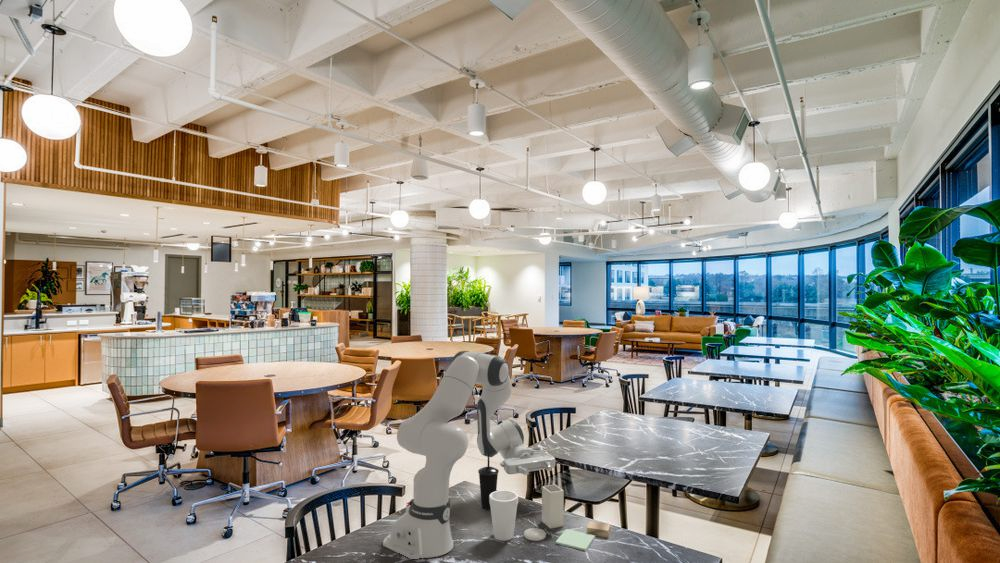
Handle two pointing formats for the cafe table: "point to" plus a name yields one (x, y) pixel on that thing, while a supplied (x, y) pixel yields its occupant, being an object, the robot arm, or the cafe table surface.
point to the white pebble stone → (534, 534)
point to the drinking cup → (487, 484)
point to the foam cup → (503, 513)
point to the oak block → (598, 529)
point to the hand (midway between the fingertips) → (538, 470)
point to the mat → (575, 539)
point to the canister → (552, 506)
